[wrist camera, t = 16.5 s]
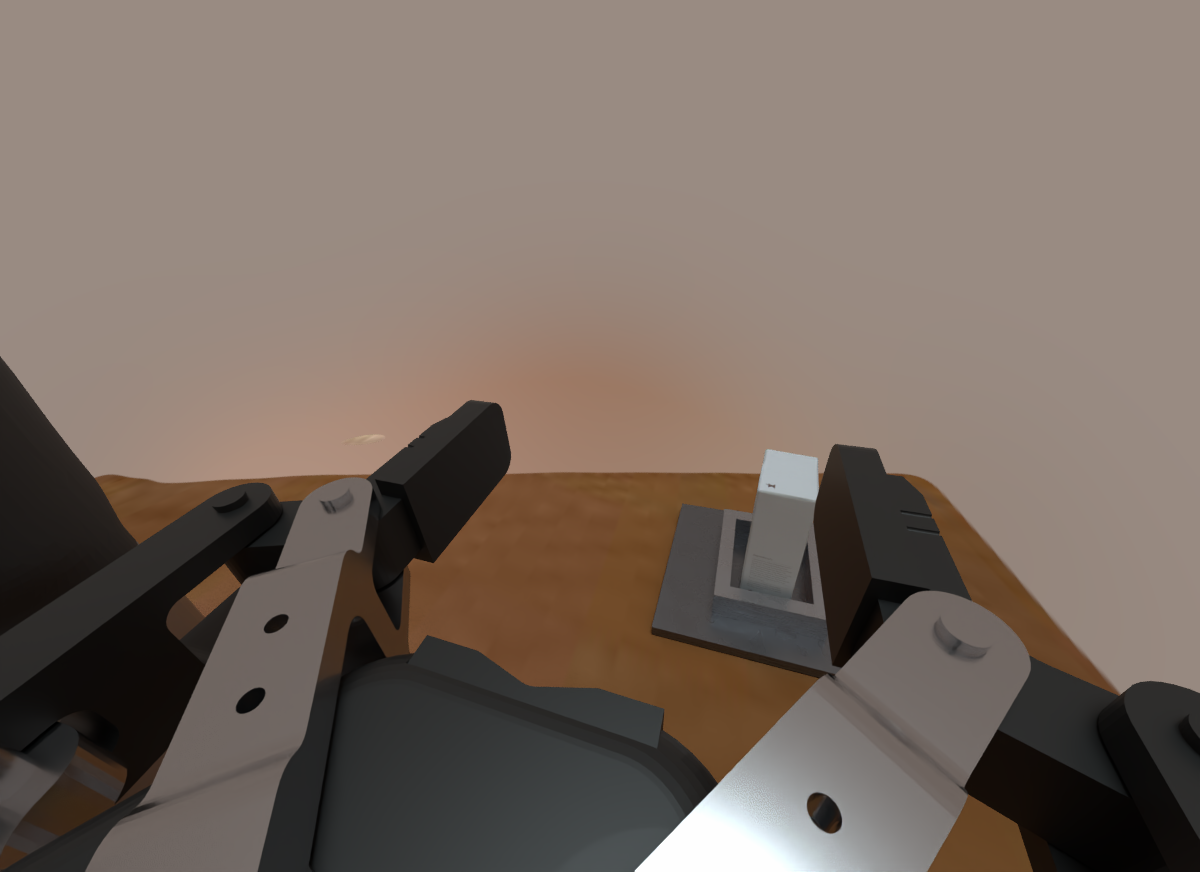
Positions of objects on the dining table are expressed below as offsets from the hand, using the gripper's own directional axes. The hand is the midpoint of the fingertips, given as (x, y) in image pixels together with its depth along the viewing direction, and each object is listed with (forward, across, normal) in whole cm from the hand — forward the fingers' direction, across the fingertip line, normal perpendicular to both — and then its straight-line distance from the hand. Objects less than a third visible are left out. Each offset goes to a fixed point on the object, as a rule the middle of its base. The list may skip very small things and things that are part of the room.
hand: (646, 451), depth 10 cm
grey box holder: (+20, -7, +28) cm, 35 cm away
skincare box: (+20, -7, +27) cm, 34 cm away
